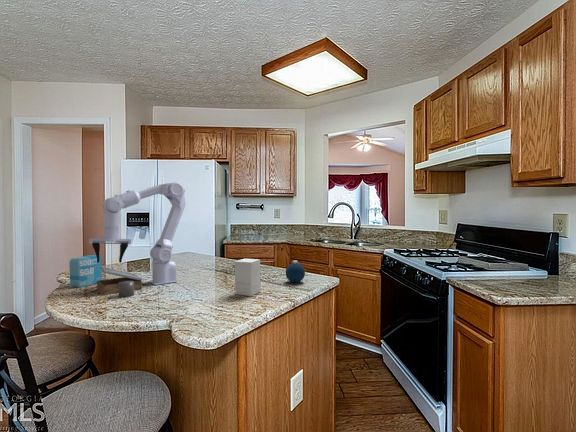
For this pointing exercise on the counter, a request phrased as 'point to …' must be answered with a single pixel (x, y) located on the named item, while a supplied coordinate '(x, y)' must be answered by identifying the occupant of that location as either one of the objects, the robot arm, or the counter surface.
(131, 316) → the counter surface
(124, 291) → the dark grey rounded plug
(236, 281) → the supplement box
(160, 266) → the robot arm
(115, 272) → the lid
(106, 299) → the counter surface
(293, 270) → the christmas ornament
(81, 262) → the data package
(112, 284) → the box
